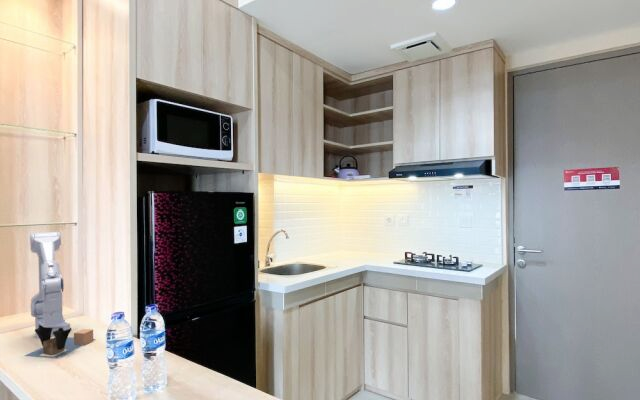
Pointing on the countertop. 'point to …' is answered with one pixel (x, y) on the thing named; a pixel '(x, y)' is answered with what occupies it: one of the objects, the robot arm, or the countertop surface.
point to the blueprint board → (68, 348)
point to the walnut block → (51, 347)
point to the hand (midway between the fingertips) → (53, 347)
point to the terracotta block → (83, 337)
